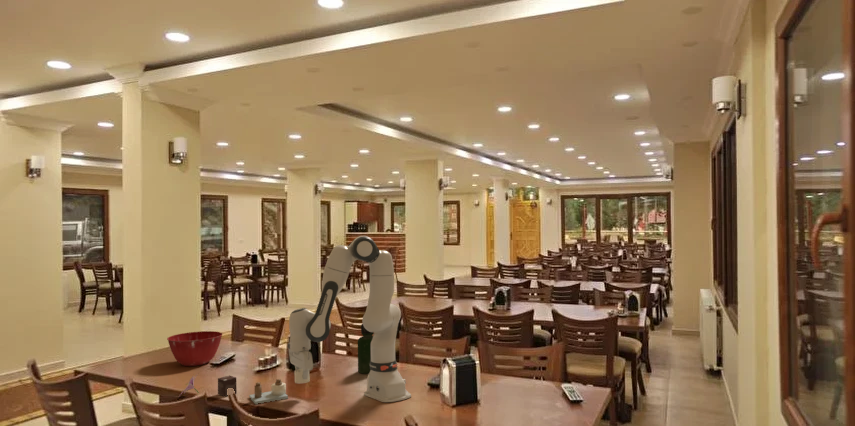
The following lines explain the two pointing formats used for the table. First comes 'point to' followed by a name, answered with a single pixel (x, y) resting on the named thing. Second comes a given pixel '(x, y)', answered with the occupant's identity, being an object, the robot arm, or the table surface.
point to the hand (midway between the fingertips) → (302, 377)
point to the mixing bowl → (195, 347)
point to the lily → (190, 385)
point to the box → (226, 384)
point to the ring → (300, 376)
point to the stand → (269, 393)
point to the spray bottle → (364, 351)
